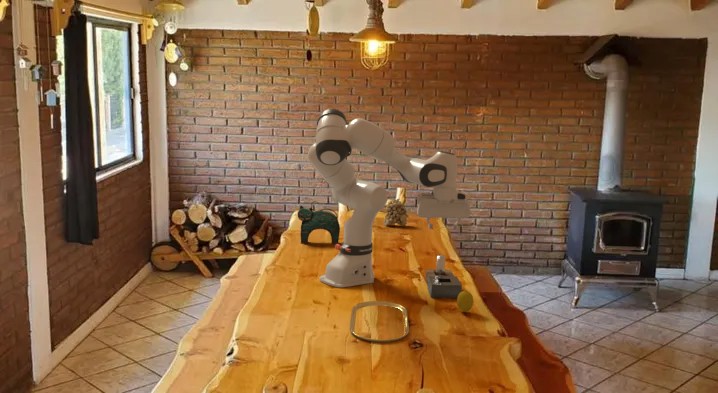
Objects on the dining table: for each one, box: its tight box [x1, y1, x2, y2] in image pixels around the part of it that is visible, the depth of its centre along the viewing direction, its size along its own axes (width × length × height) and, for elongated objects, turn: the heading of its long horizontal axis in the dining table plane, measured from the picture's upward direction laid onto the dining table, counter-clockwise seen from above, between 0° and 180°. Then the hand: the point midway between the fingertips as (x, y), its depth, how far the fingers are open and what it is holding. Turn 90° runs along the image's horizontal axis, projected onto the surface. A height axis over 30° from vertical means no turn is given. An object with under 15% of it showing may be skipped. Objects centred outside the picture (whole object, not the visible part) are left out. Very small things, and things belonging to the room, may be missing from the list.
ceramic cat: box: [297, 200, 341, 245], centre depth 321 cm, size 20×6×20 cm, turn 92°
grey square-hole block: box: [427, 275, 463, 299], centre depth 255 cm, size 11×11×5 cm
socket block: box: [424, 268, 455, 286], centre depth 267 cm, size 10×10×4 cm
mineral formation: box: [383, 198, 410, 227], centre depth 361 cm, size 8×13×15 cm, turn 93°
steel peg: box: [435, 254, 446, 275], centre depth 267 cm, size 3×3×11 cm
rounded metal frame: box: [349, 300, 410, 343], centre depth 225 cm, size 19×35×2 cm, turn 178°
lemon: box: [456, 289, 474, 313], centre depth 236 cm, size 6×6×8 cm
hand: (442, 228), depth 264 cm, fingers open, 8 cm apart
